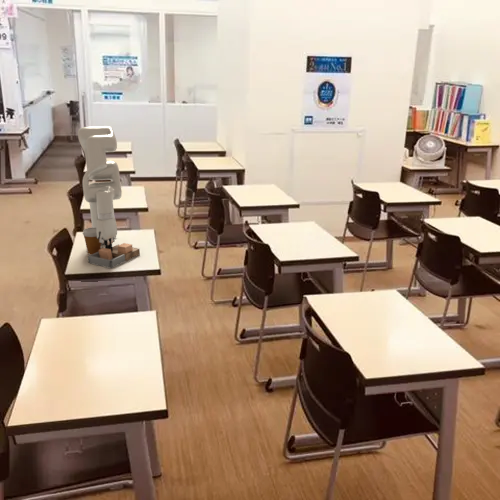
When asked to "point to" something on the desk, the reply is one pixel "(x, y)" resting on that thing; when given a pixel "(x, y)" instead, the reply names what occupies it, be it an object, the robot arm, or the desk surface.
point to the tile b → (125, 248)
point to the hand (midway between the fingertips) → (109, 251)
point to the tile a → (105, 253)
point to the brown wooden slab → (127, 255)
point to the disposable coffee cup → (91, 240)
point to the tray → (105, 260)
